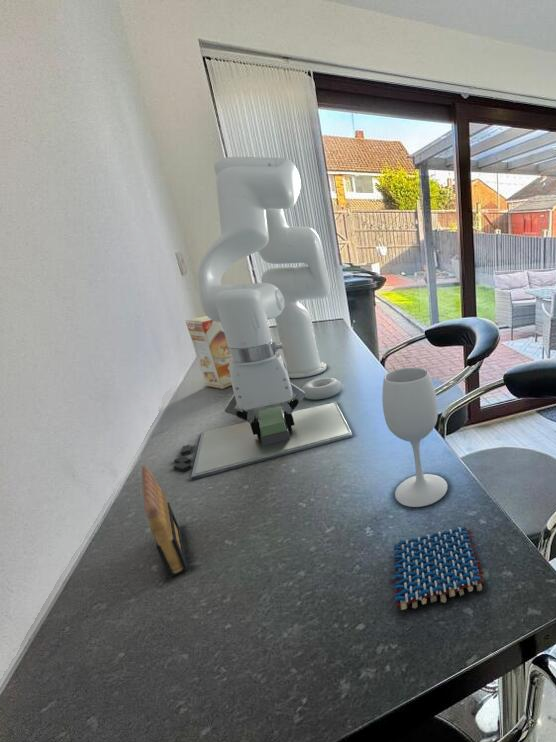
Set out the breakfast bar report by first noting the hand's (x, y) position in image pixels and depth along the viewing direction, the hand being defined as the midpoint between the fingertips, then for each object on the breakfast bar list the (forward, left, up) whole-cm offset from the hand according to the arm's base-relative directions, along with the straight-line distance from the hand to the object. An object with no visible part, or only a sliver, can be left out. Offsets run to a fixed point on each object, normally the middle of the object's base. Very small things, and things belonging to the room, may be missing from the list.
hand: (275, 431), depth 86 cm
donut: (-19, +12, -1) cm, 23 cm away
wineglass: (+36, +20, -1) cm, 41 cm away
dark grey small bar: (-3, -16, 0) cm, 16 cm away
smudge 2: (+2, -16, -1) cm, 16 cm away
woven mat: (+53, +16, -1) cm, 55 cm away
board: (0, 0, -1) cm, 1 cm away
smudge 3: (+4, -16, -1) cm, 16 cm away
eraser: (0, 0, 0) cm, 0 cm away
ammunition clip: (+30, -14, -1) cm, 33 cm away
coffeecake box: (-47, -8, -1) cm, 48 cm away
